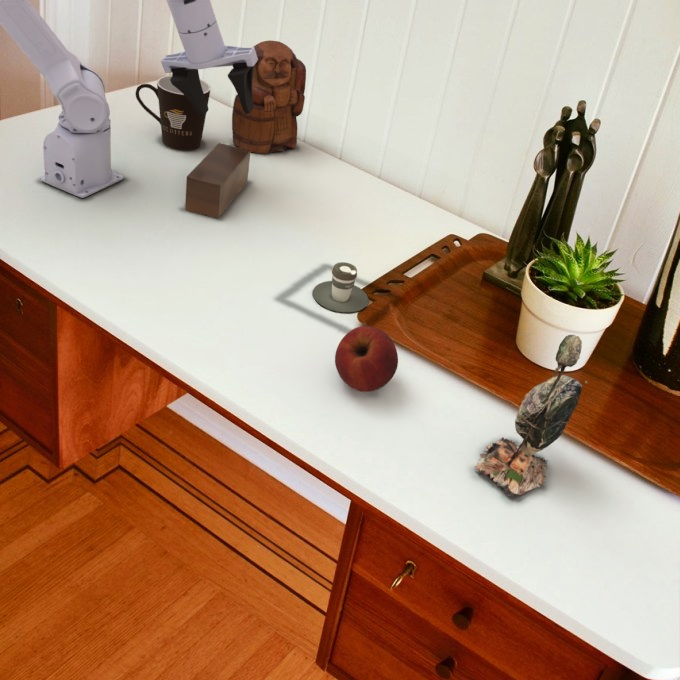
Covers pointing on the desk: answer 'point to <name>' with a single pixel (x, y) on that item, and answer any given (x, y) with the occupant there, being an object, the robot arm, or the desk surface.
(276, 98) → the wooden figurine
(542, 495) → the desk surface
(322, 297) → the coffee cup
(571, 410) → the plant with pod
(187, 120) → the coffee mug
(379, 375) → the apple
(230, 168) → the pencil box
